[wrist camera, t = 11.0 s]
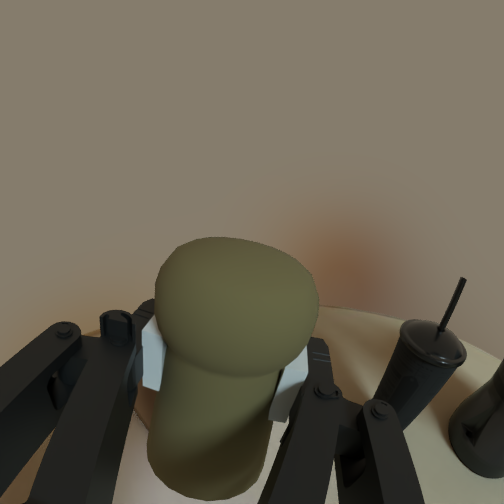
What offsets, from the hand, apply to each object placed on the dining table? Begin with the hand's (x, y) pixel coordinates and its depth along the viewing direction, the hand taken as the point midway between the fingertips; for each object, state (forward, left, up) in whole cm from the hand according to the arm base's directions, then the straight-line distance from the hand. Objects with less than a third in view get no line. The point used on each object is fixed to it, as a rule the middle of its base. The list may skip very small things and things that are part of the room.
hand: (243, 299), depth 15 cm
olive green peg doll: (+4, +3, -7) cm, 9 cm away
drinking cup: (-17, +9, -18) cm, 27 cm away
